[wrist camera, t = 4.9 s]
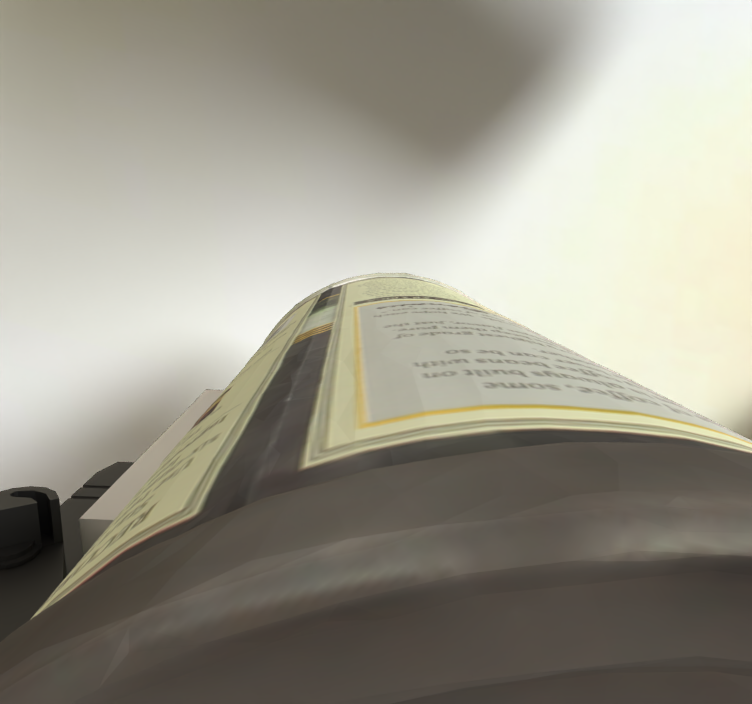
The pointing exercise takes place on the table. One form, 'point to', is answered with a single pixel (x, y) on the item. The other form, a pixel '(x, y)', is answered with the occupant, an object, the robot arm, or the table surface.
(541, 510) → the coffee can
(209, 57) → the table surface
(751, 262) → the table surface
